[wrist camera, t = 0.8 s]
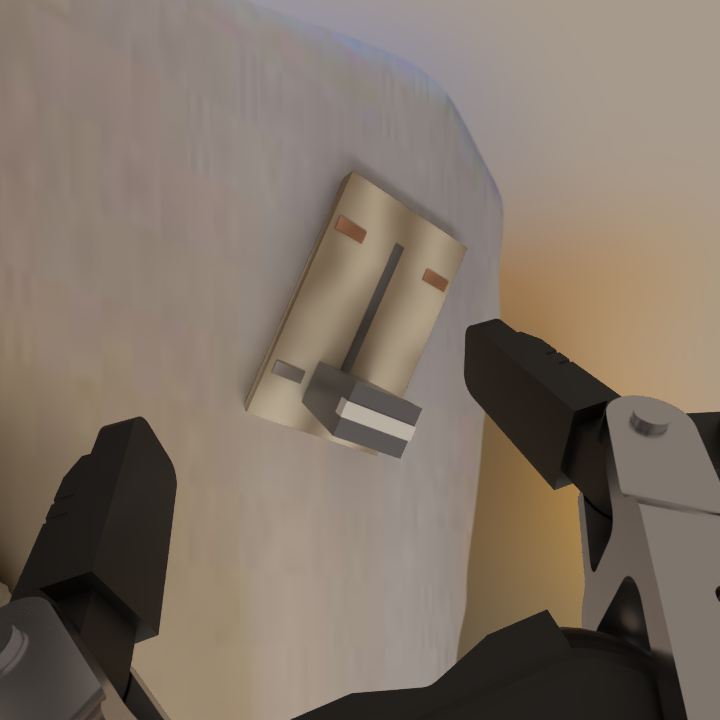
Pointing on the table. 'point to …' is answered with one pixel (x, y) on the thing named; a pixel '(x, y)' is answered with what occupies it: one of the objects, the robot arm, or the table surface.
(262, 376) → the fader panel
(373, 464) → the table surface
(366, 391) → the fader knob
